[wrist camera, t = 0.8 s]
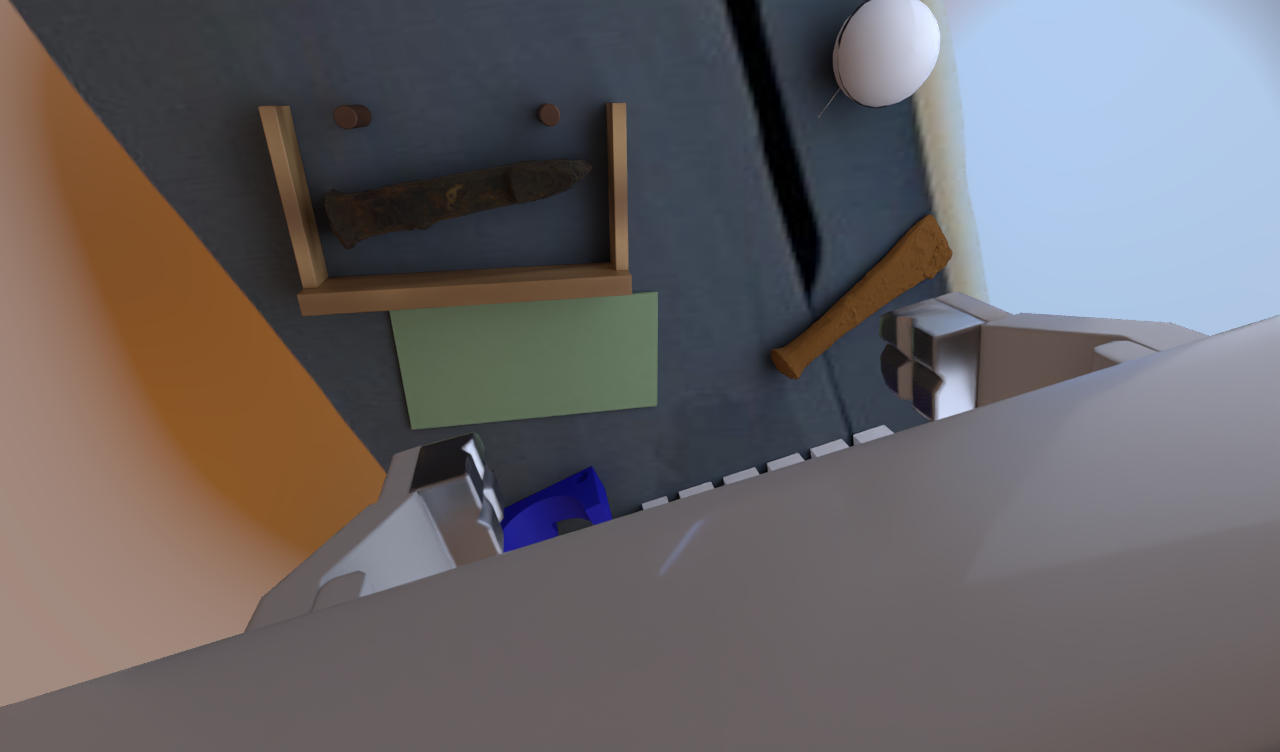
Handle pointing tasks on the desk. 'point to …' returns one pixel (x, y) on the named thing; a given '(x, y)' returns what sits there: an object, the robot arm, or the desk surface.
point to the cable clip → (555, 509)
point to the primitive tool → (870, 294)
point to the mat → (527, 358)
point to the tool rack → (442, 285)
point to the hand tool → (446, 197)
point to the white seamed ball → (885, 51)
